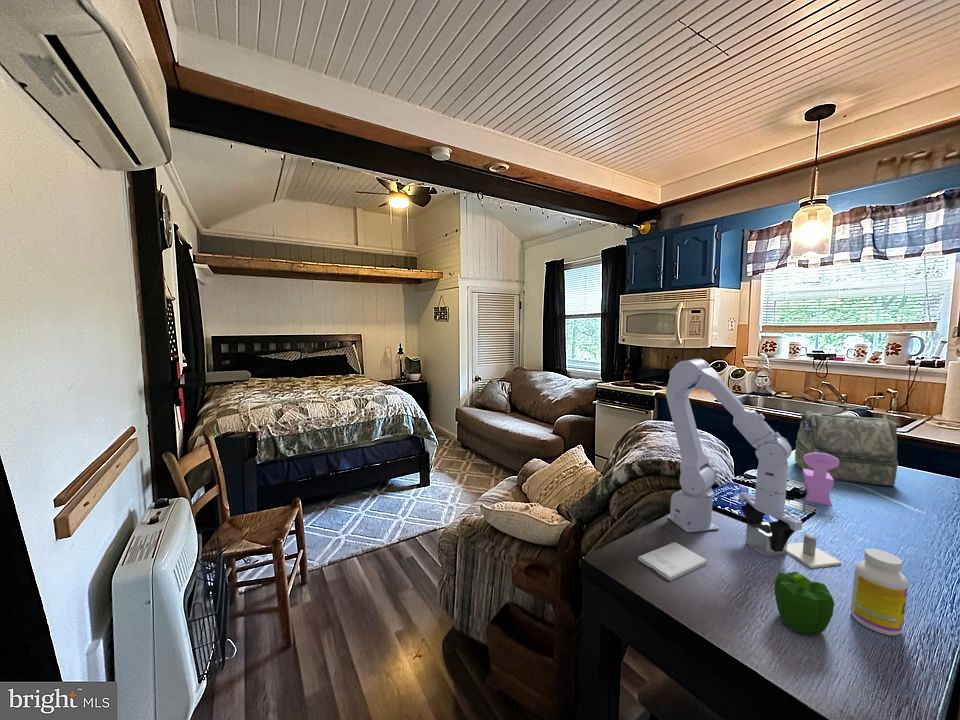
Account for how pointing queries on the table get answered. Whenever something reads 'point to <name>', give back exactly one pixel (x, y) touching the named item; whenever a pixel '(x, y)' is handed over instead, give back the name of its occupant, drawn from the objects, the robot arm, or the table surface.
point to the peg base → (810, 553)
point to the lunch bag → (851, 446)
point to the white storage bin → (762, 539)
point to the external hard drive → (672, 560)
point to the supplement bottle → (879, 592)
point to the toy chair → (819, 477)
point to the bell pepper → (803, 603)
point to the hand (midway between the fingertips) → (765, 543)
